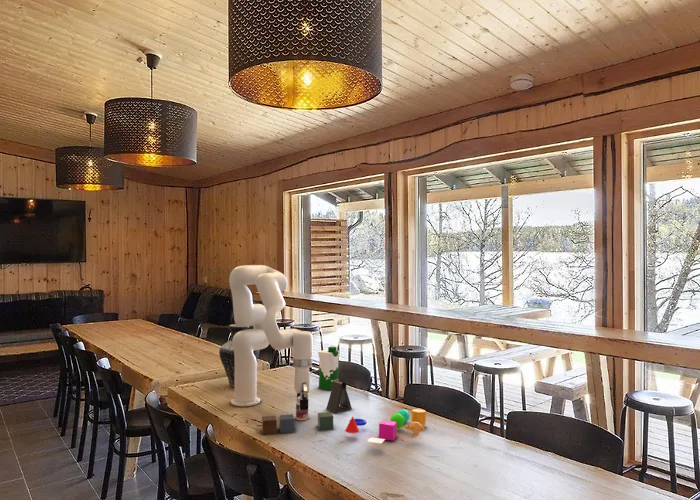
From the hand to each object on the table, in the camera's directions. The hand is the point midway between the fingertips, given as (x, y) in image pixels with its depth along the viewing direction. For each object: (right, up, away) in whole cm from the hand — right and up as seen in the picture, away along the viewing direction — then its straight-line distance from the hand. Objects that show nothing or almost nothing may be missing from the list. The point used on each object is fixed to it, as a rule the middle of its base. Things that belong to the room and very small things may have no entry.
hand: (302, 406), depth 200 cm
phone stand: (+14, -5, +12) cm, 19 cm away
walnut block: (-11, -5, -15) cm, 19 cm away
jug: (-36, -5, +49) cm, 61 cm away
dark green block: (+10, -5, -10) cm, 15 cm away
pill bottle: (0, -5, 0) cm, 5 cm away
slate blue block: (-4, -5, -13) cm, 15 cm away
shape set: (+32, -5, -17) cm, 37 cm away
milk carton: (+8, -5, +45) cm, 46 cm away
